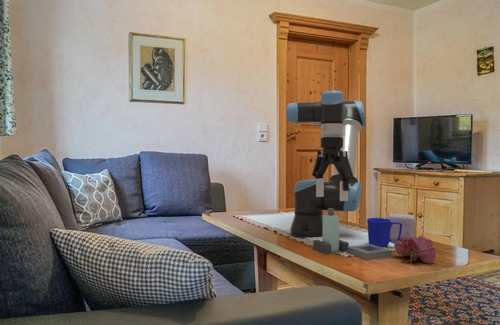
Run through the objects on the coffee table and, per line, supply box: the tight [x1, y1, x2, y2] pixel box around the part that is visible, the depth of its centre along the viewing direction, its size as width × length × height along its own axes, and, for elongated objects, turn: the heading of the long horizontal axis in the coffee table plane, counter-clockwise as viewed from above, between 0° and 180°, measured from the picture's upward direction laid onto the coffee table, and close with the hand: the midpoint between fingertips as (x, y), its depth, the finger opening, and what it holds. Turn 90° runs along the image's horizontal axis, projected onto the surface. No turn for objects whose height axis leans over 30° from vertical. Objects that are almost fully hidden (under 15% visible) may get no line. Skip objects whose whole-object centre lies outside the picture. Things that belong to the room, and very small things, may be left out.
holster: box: [312, 239, 350, 255], centre depth 135 cm, size 8×9×4 cm
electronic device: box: [386, 213, 416, 242], centre depth 153 cm, size 10×5×10 cm, turn 63°
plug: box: [321, 208, 340, 252], centre depth 135 cm, size 4×4×14 cm
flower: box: [393, 235, 437, 265], centre depth 124 cm, size 11×10×10 cm
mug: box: [366, 217, 402, 249], centre depth 142 cm, size 8×12×10 cm
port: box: [346, 243, 393, 261], centre depth 129 cm, size 10×10×3 cm
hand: (331, 198), depth 134 cm, fingers open, 13 cm apart
